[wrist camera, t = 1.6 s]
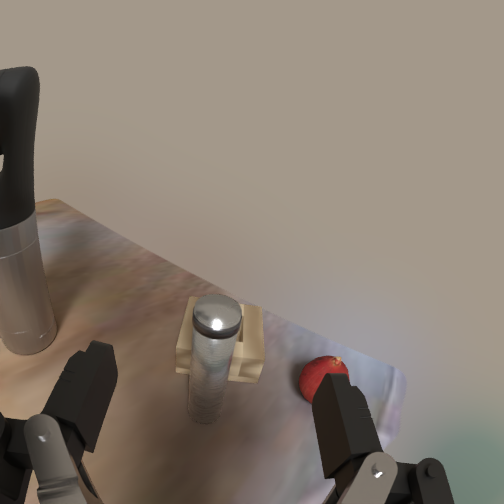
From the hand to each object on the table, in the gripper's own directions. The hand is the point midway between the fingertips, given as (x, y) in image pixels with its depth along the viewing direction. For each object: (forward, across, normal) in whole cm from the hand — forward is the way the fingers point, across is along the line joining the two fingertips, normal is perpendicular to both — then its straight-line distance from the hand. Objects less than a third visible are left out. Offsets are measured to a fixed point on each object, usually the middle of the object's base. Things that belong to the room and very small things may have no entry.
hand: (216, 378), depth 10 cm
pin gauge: (+11, 0, +20) cm, 23 cm away
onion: (+14, -13, +20) cm, 28 cm away
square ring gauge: (+21, -1, +20) cm, 29 cm away
